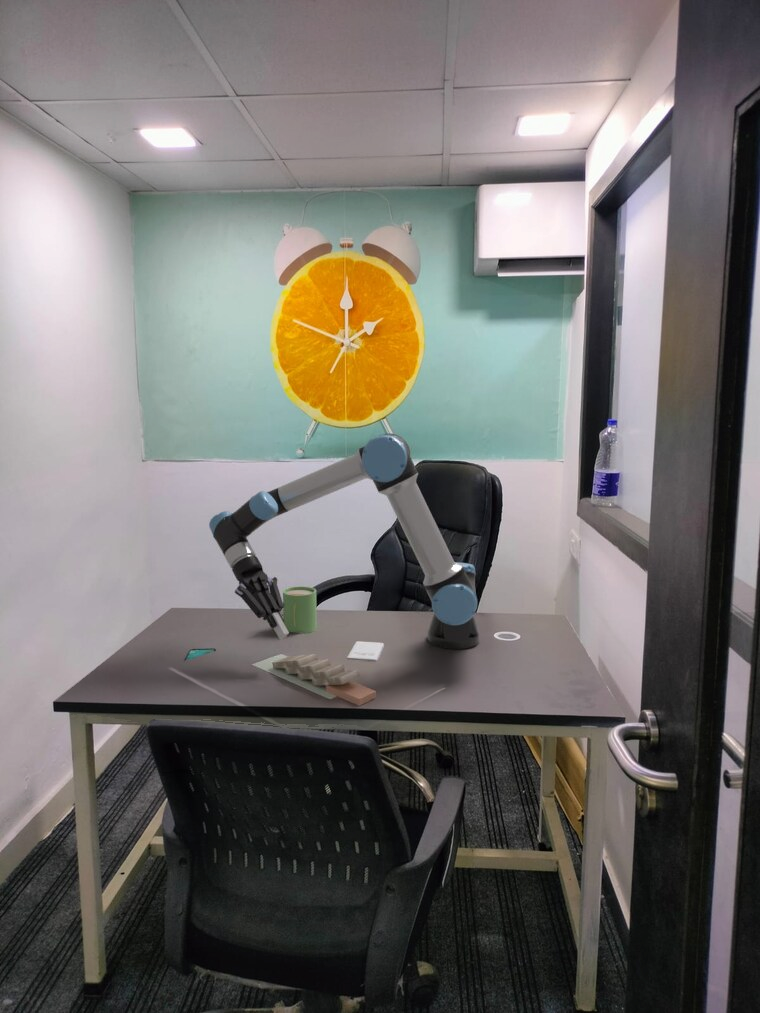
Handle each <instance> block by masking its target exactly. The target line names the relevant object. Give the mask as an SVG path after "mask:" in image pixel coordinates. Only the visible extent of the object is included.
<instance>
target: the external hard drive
mask: <svg viewBox="0 0 760 1013" xmlns="http://www.w3.org/2000/svg"><path fill="white" fill-rule="evenodd" d="M384 647H385V643H383V642H375V641H374V642H373V641H358V640H357V641H356V642H354V645H353V647H352V648H351V650H350V652H349V654H348V655H347V657H346V659H347V660H359V661H360V660H361V661H372V662H377V661H378V660H379V658H380V656H381V654H382V652H383V649H384Z"/></svg>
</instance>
